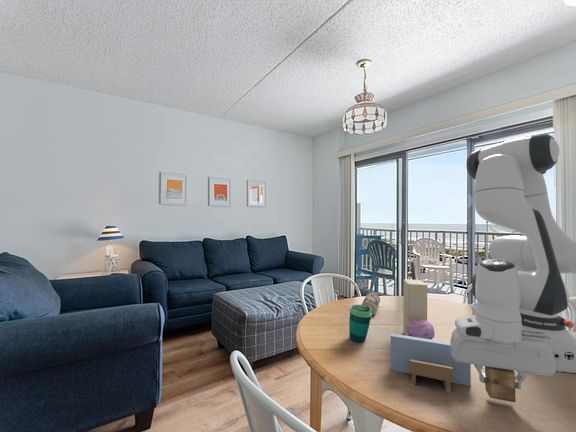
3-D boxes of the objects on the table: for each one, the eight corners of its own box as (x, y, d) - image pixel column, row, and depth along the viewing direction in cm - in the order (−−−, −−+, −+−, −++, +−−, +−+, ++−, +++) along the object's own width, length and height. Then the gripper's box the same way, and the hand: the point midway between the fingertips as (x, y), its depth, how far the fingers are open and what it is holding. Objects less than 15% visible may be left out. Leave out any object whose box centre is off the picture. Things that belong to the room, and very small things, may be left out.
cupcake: (401, 343, 97) (401, 315, 97) (425, 342, 97) (424, 314, 97) (415, 355, 88) (415, 325, 88) (440, 354, 88) (440, 324, 89)
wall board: (469, 382, 73) (468, 345, 74) (476, 399, 66) (476, 358, 66) (390, 366, 81) (390, 333, 81) (389, 380, 74) (389, 344, 74)
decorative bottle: (365, 303, 142) (365, 291, 143) (380, 305, 139) (380, 292, 139) (356, 320, 119) (356, 305, 119) (374, 323, 116) (374, 307, 116)
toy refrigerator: (429, 343, 97) (429, 284, 97) (408, 341, 98) (407, 283, 98) (423, 334, 104) (422, 279, 105) (403, 332, 106) (402, 279, 106)
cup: (354, 333, 105) (354, 302, 105) (375, 338, 100) (374, 306, 100) (345, 341, 98) (345, 308, 99) (367, 347, 94) (367, 312, 94)
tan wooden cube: (509, 393, 66) (509, 365, 66) (516, 404, 62) (515, 373, 62) (485, 389, 68) (484, 361, 68) (490, 399, 64) (489, 369, 64)
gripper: (545, 328, 65) (547, 385, 64) (448, 318, 72) (449, 369, 72) (561, 339, 59) (562, 403, 59) (453, 327, 66) (454, 383, 66)
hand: (499, 384), depth 65 cm, fingers closed on tan wooden cube, 5 cm apart
